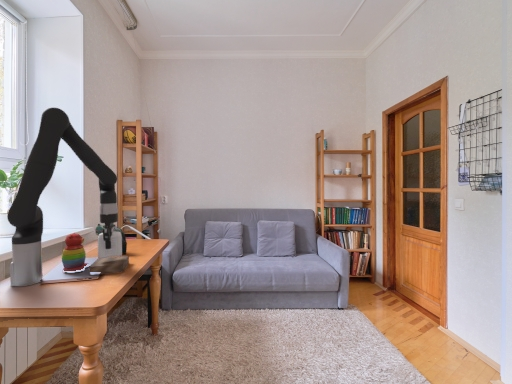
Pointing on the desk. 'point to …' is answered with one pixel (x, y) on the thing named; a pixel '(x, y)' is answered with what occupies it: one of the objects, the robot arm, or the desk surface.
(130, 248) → the desk surface
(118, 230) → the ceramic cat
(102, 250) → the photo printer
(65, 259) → the stacking bear
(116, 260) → the walnut block
